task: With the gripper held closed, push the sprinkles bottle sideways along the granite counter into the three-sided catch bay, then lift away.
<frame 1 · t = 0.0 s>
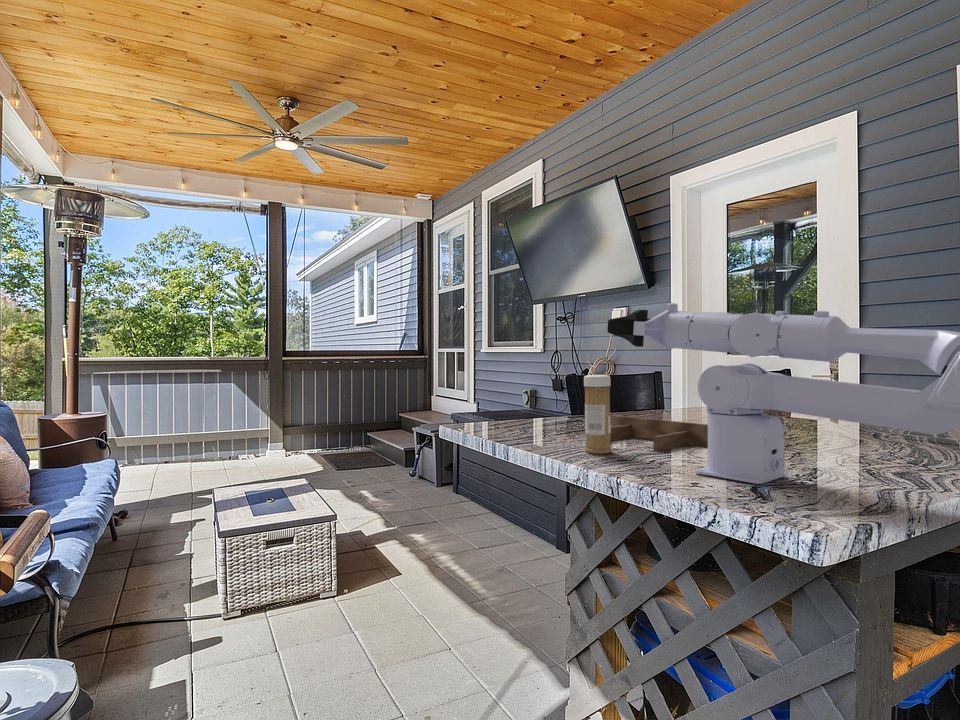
hand: (623, 326, 97), 22 cm above the countertop, tool horizontal, fingers open, 7 cm apart
catch bay: (641, 443, 111), on the countertop
sprinkles bottle: (597, 453, 102), on the countertop
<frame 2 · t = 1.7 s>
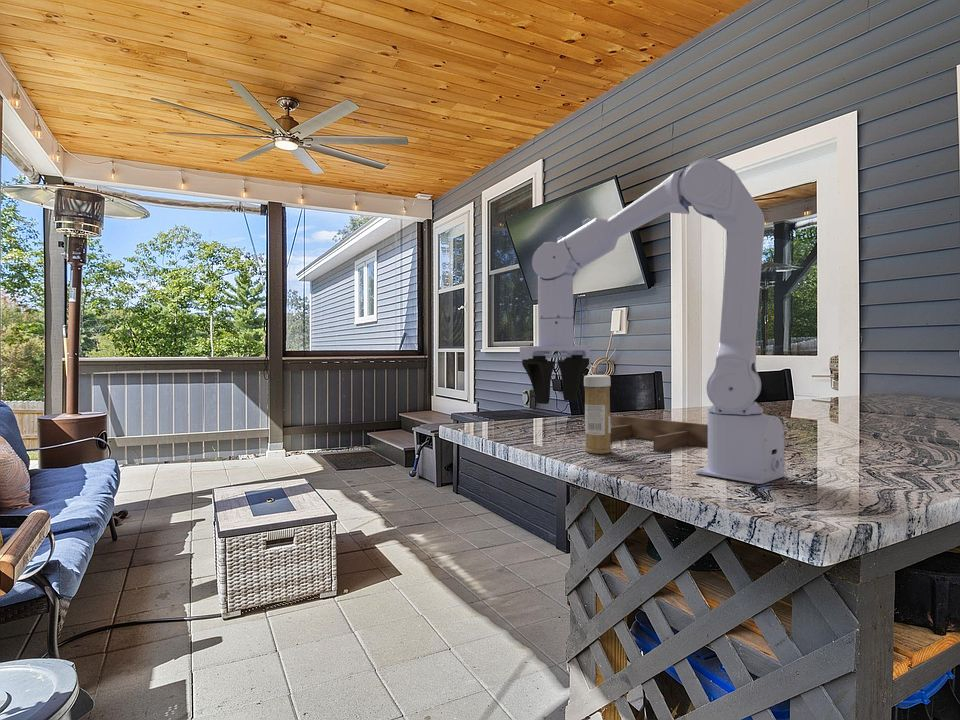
hand: (556, 402, 96), 9 cm above the countertop, tool pointing down, fingers open, 6 cm apart
nothing on the countertop moved.
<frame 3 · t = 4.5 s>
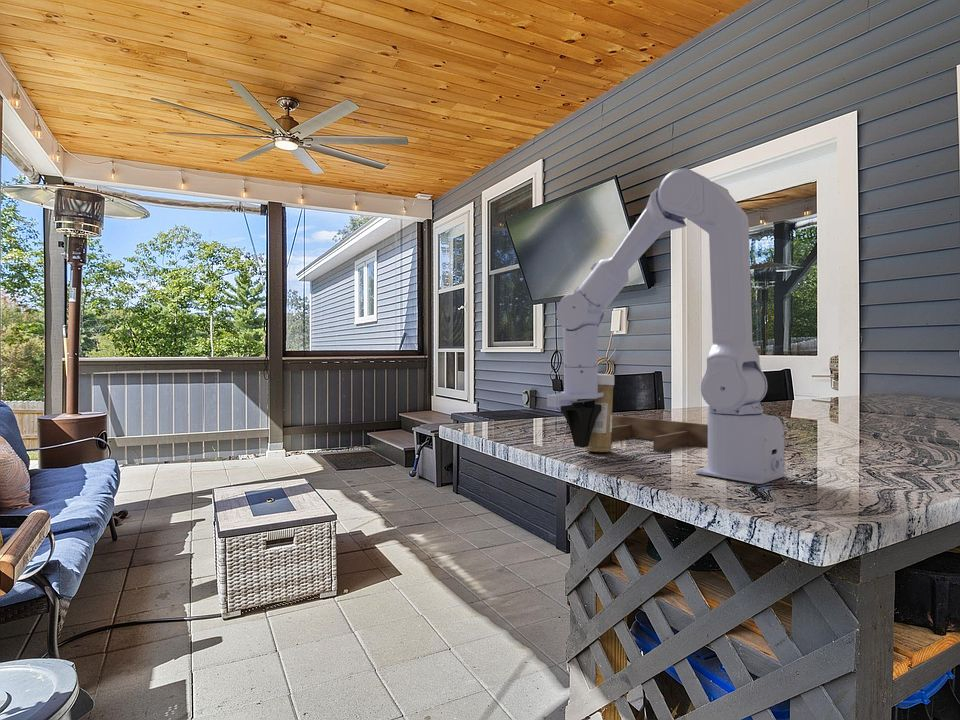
hand: (581, 446, 100), 1 cm above the countertop, tool pointing down, fingers closed
sprinkles bottle: (597, 452, 102), on the countertop, touching gripper
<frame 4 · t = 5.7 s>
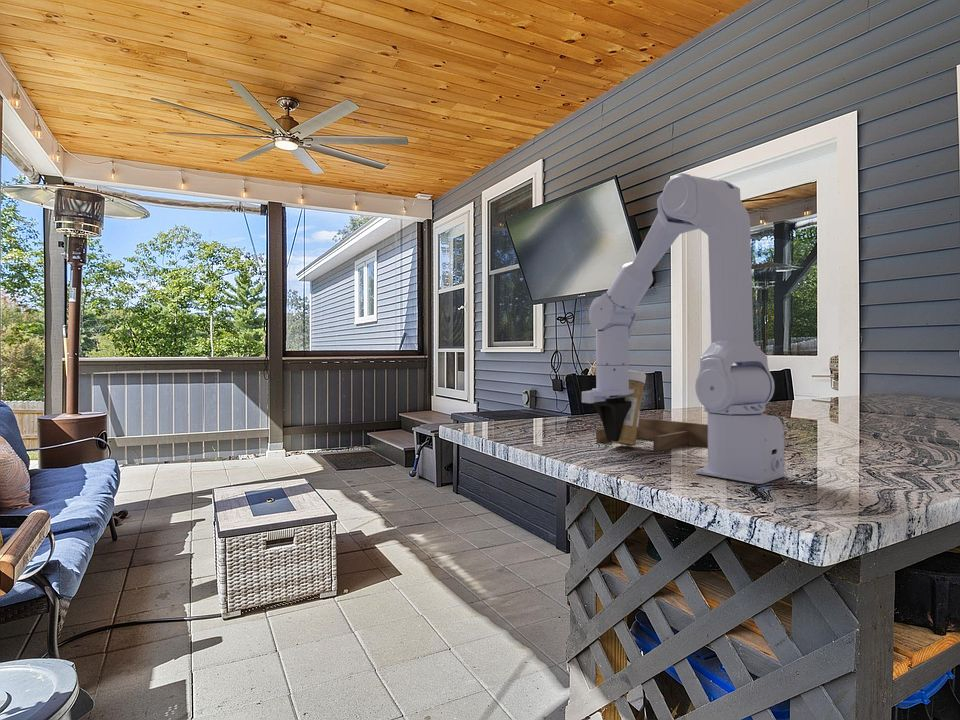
hand: (612, 440, 105), 1 cm above the countertop, tool pointing down, fingers closed
sprinkles bottle: (622, 445, 107), on the countertop, touching gripper
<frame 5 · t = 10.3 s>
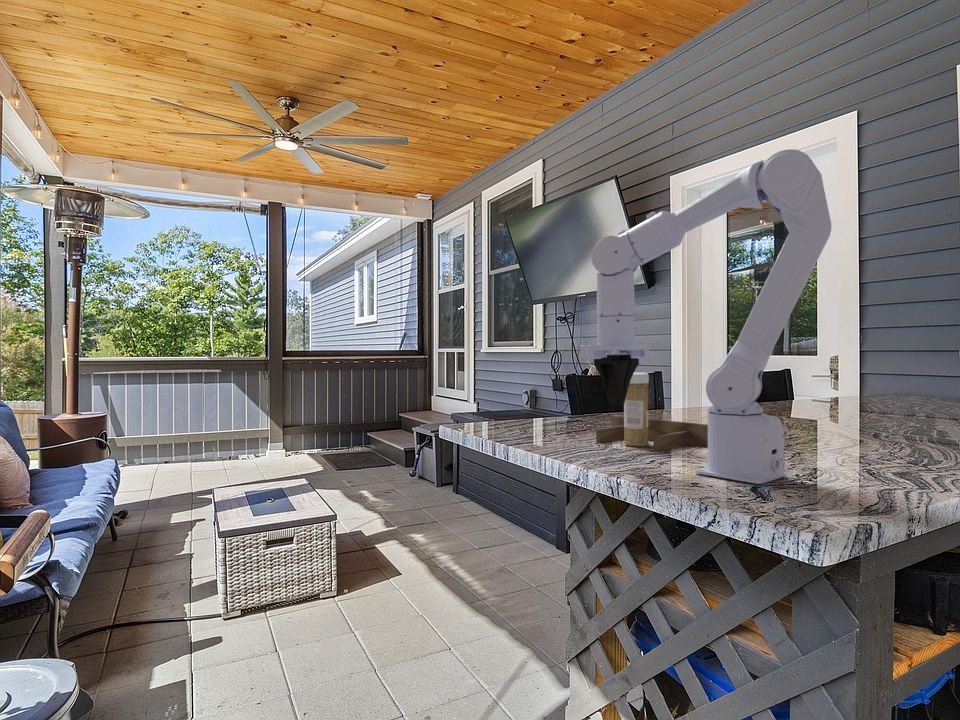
hand: (616, 404, 91), 9 cm above the countertop, tool pointing down, fingers closed
sprinkles bottle: (635, 446, 109), on the countertop
at the end: sprinkles bottle inside the target area on the catch bay (2.2 cm from its centre), point 0.0 cm above the catch bay's base; sprinkles bottle tilted 0° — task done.
